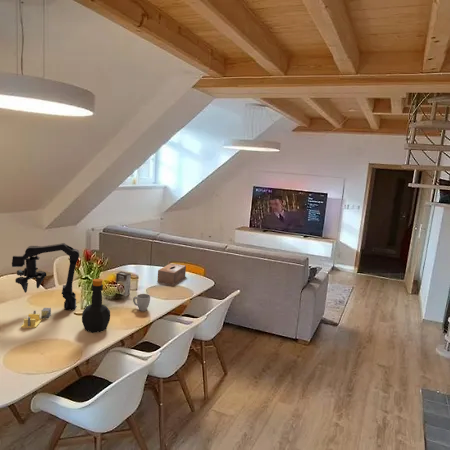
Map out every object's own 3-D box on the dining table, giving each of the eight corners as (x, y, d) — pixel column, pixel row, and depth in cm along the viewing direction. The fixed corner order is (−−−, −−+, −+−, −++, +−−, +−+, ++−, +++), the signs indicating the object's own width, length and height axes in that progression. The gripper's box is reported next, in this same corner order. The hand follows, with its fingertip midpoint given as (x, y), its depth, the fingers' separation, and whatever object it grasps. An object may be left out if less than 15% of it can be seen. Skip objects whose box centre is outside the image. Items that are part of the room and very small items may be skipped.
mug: (151, 308, 262) (152, 295, 260) (145, 312, 254) (146, 299, 252) (135, 305, 265) (136, 292, 263) (129, 309, 256) (130, 296, 255)
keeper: (42, 320, 230) (42, 310, 229) (36, 327, 219) (36, 318, 218) (27, 319, 228) (27, 310, 228) (21, 327, 218) (21, 317, 217)
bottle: (87, 321, 233) (88, 274, 228) (114, 324, 233) (116, 277, 228) (76, 333, 217) (77, 282, 212) (105, 335, 217) (107, 285, 212)
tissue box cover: (173, 284, 316) (173, 272, 314) (157, 281, 320) (158, 270, 318) (185, 276, 340) (186, 265, 339) (170, 273, 344) (171, 263, 343)
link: (50, 315, 237) (50, 307, 236) (48, 318, 232) (48, 311, 232) (43, 315, 237) (43, 307, 236) (41, 318, 232) (41, 310, 231)
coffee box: (114, 294, 282) (115, 273, 280) (119, 291, 288) (120, 271, 286) (125, 296, 280) (126, 275, 277) (130, 293, 286) (131, 273, 283)
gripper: (33, 261, 248) (34, 283, 251) (8, 267, 231) (9, 292, 234) (46, 263, 245) (47, 286, 247) (22, 270, 227) (22, 295, 230)
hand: (31, 290), depth 240 cm, fingers open, 9 cm apart
